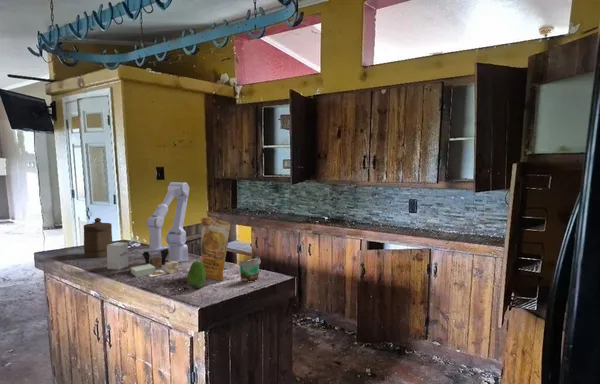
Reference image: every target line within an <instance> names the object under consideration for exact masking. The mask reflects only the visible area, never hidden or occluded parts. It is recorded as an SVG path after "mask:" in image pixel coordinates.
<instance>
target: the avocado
mask: <svg viewBox="0 0 600 384" xmlns="http://www.w3.org/2000/svg"><path fill="white" fill-rule="evenodd" d="M206 278H207V277H206V273H205V269H204V266H203V263H202V261H200V260H195V261H193V262H192V263H191V265H190V268H189V271H188V273H187V278H186V279H187V284H188V286H189V287H191V288H192V289H199V288H202V287H203V286H204V284H205V282H206Z"/></svg>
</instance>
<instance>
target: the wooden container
mask: <svg viewBox="0 0 600 384" xmlns="http://www.w3.org/2000/svg"><path fill="white" fill-rule="evenodd" d="M101 221H102V218H100V217H96V218H94V222H93V223H87V224H83V250H84V251H83V252H84V258H90V259H91V258H93V259H94V258H104V257H107V245H109V244H113V231H112V230H113V229H112V226H113V225H112V223H110V222H101Z"/></svg>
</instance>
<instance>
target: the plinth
mask: <svg viewBox="0 0 600 384" xmlns="http://www.w3.org/2000/svg"><path fill="white" fill-rule="evenodd" d="M155 271H156V269H155V267H154V266H152V265H151V264H150V263H149V264H146V263H145V264H141V265H135V266H131V267H130V273H131V274H132V275H133V276H134V277H136V278H138V277H145V276H149V275H150V274H154V273H156V272H155Z"/></svg>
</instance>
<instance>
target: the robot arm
mask: <svg viewBox="0 0 600 384" xmlns="http://www.w3.org/2000/svg"><path fill="white" fill-rule="evenodd" d="M189 194H190V186H189V184H188V182H175V181H172V182H171V181H170V183H169V184H168V186H167V192H166V195H165V197H164V199H163V201H162V203H159V204H158V205H157V206H156V208H155V210H154V212H153V213H152V215H151V216H149V217H148V218H147V219H146V222H145V223H146V226H147V230H148V235H149V237H148V239H149V240H148V241H149V244H148V245H149V247H146V248H142V249H140V250H139V253H140V254H141V255H142V256H143V258H144V261H145V264H150V257H151V255H150V253H155V252H160V254H161V255H160V256H161V260H162V265H163V266H165V263H166V261H167V262H170V261H175V262H178V263H180V262H187V261H189V249H188V245H187V244H186V242H187V231H186V230H185V229H184V222H185V216H186V212H187V206H188V205H187V204H188V199H189ZM174 199H176V200H177V201H176V205H175V206H176V207H175V212H174V218H173V224H172V227H171V228H170V229H168V231H167V234H166V237H165V241H166V243H167V244H168V245H162V227H163V225H164V220H165V217H166V215H167V214H168V212H169V206H170V204H171V203H172V202H173V200H174ZM168 254H169V258H168V259H167V256H168Z"/></svg>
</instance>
